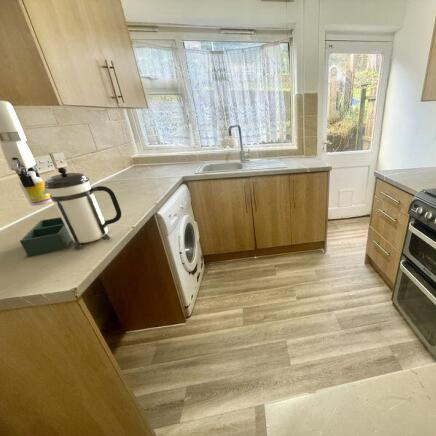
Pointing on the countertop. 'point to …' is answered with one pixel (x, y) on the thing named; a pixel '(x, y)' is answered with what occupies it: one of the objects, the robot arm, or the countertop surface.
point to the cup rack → (46, 237)
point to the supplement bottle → (36, 191)
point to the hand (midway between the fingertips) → (33, 184)
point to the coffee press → (80, 206)
